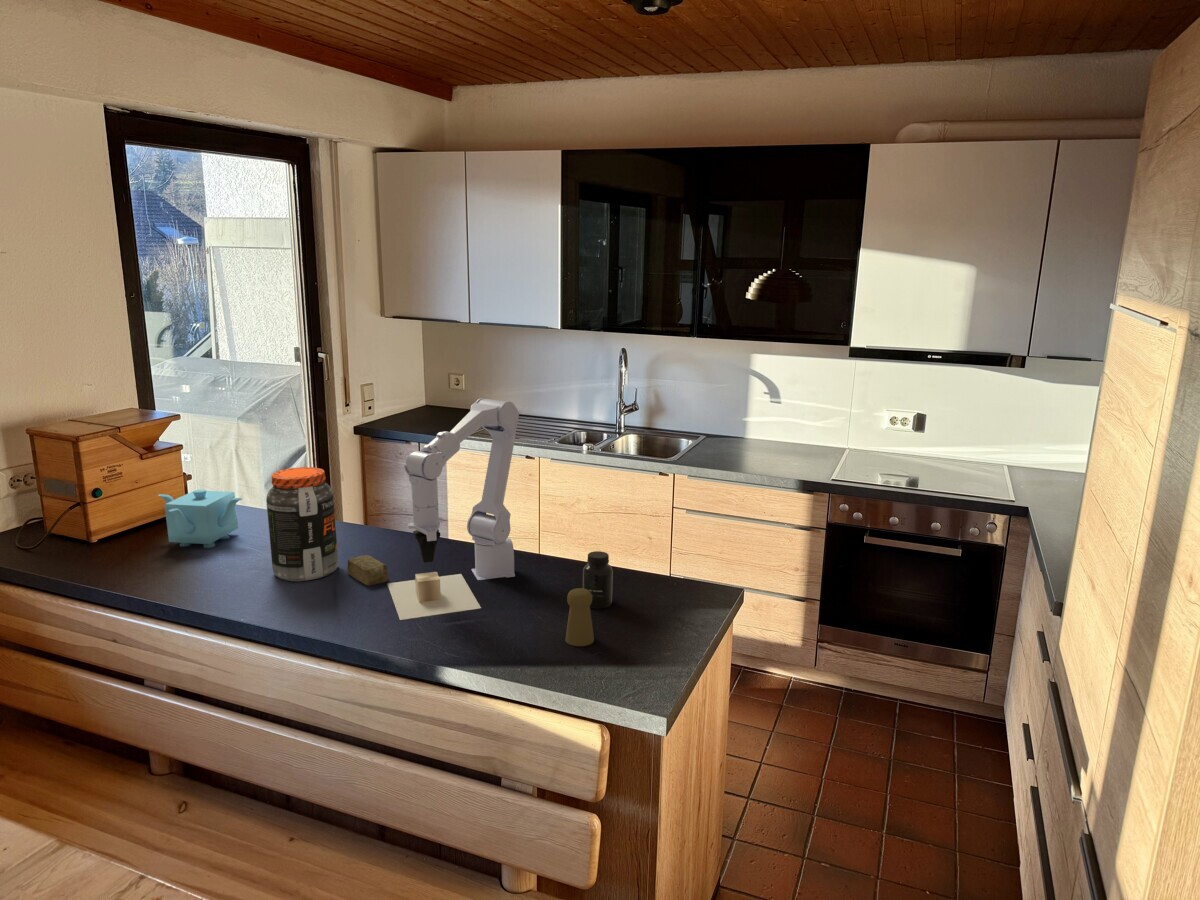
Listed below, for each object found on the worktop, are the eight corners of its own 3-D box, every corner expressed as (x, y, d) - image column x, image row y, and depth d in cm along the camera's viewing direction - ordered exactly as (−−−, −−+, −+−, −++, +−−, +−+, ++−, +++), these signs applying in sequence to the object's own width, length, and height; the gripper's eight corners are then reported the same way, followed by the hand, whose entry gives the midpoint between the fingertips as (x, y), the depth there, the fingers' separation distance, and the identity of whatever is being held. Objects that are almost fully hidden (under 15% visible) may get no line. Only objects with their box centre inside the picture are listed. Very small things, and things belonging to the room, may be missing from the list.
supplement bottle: (590, 611, 189) (591, 561, 187) (577, 601, 195) (577, 552, 193) (617, 606, 193) (618, 556, 190) (603, 595, 198) (604, 547, 196)
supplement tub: (340, 579, 208) (333, 477, 202) (272, 587, 203) (263, 483, 197) (337, 557, 222) (330, 462, 216) (273, 564, 217) (264, 467, 211)
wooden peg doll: (564, 633, 179) (564, 585, 176) (593, 632, 179) (593, 584, 177) (566, 646, 173) (565, 596, 170) (595, 645, 173) (595, 595, 171)
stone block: (368, 589, 202) (367, 570, 201) (346, 576, 210) (344, 557, 209) (390, 583, 206) (389, 564, 205) (367, 570, 214) (366, 552, 213)
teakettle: (230, 526, 247) (225, 478, 244) (249, 543, 232) (244, 492, 229) (159, 539, 236) (153, 489, 232) (174, 558, 221) (167, 504, 218)
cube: (436, 571, 198) (439, 579, 193) (437, 591, 199) (440, 599, 194) (415, 574, 196) (417, 581, 192) (416, 594, 197) (418, 602, 193)
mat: (461, 576, 210) (461, 573, 210) (481, 610, 190) (481, 608, 190) (387, 585, 204) (387, 583, 204) (400, 622, 184) (399, 619, 184)
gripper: (402, 497, 194) (405, 552, 198) (412, 515, 181) (415, 574, 184) (433, 494, 197) (435, 549, 200) (444, 511, 184) (447, 570, 187)
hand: (427, 561), depth 192 cm, fingers closed
